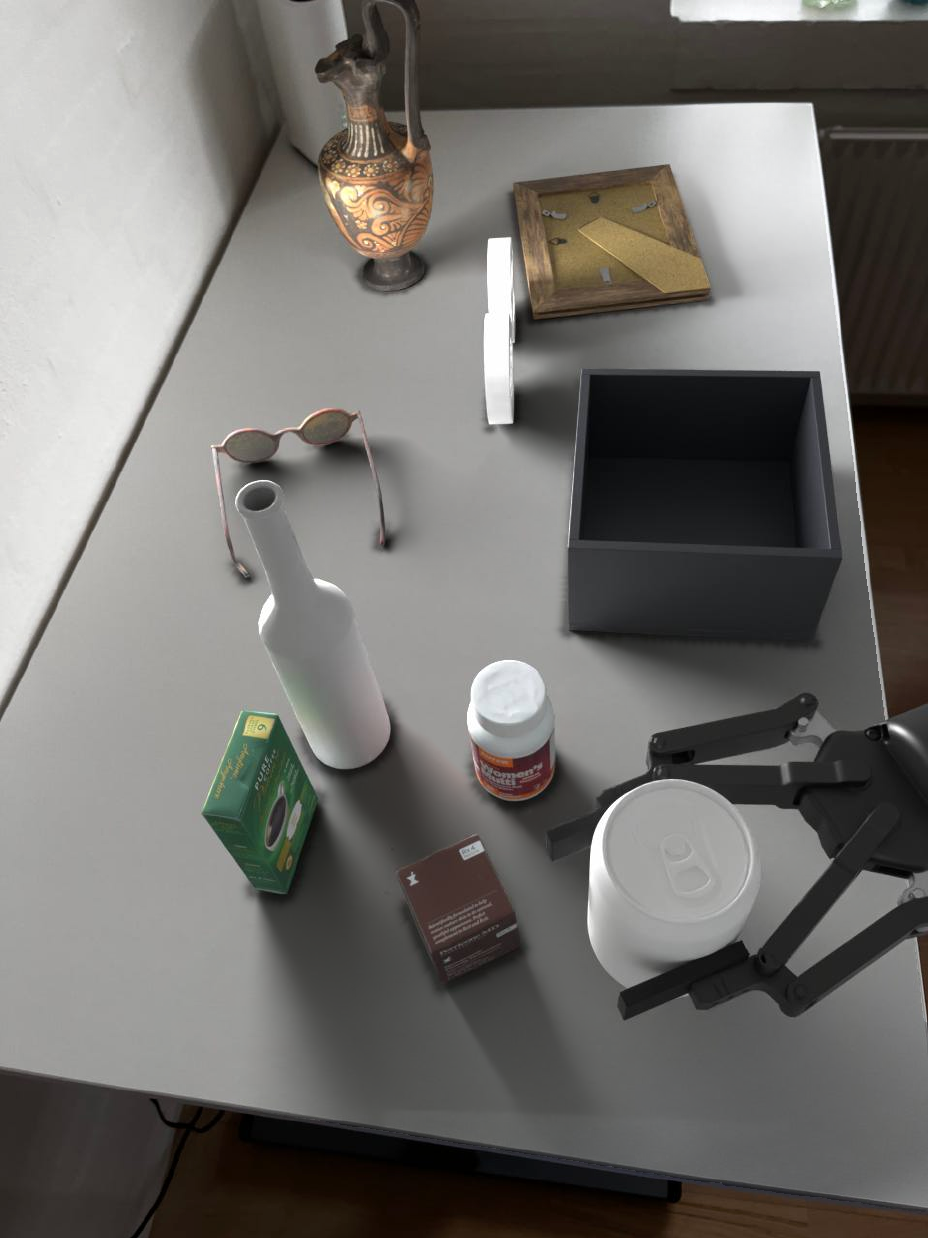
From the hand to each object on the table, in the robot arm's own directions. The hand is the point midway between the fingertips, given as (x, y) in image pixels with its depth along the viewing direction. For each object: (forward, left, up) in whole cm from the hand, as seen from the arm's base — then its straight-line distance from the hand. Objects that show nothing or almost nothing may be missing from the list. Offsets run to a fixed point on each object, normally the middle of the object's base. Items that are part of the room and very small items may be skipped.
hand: (583, 922), depth 50 cm
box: (+8, +5, -19) cm, 21 cm away
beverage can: (0, -5, -7) cm, 8 cm away
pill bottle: (+18, -3, -19) cm, 26 cm away
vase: (+80, -14, -19) cm, 83 cm away
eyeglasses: (+51, +5, -19) cm, 54 cm away
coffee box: (+19, +15, -19) cm, 31 cm away
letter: (+60, -19, -19) cm, 66 cm away
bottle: (+26, +8, -19) cm, 33 cm away
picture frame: (+74, -37, -19) cm, 85 cm away
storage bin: (+32, -25, -18) cm, 44 cm away
